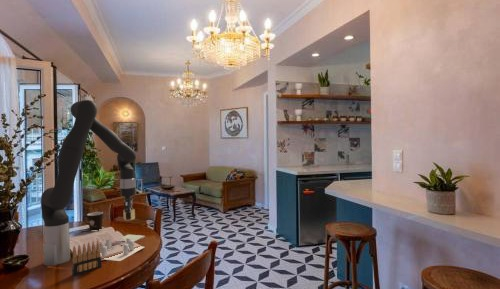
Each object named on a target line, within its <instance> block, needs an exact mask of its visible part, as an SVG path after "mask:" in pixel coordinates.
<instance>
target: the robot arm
mask: <svg viewBox="0 0 500 289" xmlns="http://www.w3.org/2000/svg"><path fill="white" fill-rule="evenodd" d="M70 113H71V116H73V118H74V119H75V120H74V123H73V126H72V127H71V129H70V131H68V133H67V135H66V137H65V138H64V140H63V142H62V143H61V147H60V149H59V153H58V156H57V177H56V181H55V184H54V185H53V187H49V188H46V189H44V191H43V193H42V194H41V198H40V205H41V206H40V207H41V218H42V220H43V224H44V243H43V244H42V250H43V252H42V254H43V265H44V266H49V267H50V266H52V267H56V266H58V265H61V264H64V263H67V262H69V261H70V260H71V245H70V220H69V215H68V213H67V212H66V207H67V206H68V205H69V204H70V202H71V199H72V194H73V191H74V190H73V189H74V184H75V182H76V181H75V180H76V176H77V174H78V170H79V166H80V164H81V160H82V158H83V155H84V151H85V147H86V144H87V140H88V137H89V133H90V132H93V133H94V135H95V136H96V137H98V138H99V140H101V141H102V142H103V143H104V144H105V145H106V147H108V149H109V150H111V152H114V153H117V155H116V161H117V165H118V168H119V172H120V173H119V176H120V179H119V180H120V181H119V186H120V197H122V198H123V197H125V198H124V199H123V207H124V209H123V210H125V211H124V212H125V213H126V220H125V221H131V220H130V219H131V215H130V212H131V209H134V206H133V205H134V203H133V200H134V198H133V196H135V195H136V179H135V168H134V167H132V165H131V163H134V162H135V161H136V159H137V155H136V153H135V150H133V149H132V147H130V146H128V144H126V143H124V141H122V139H121V138H120V137H119V136H118V134H116V133H115V132H114V131H113V130H112V129H110V128H109V127H108V126H106V125H105V124H103V123H102V122H100V120H98V119H97V114H98V107H97V105H96V102H94V101H92V100H89V99H83V100H79V101H76V102H74V103H73V104H72V105H71V106H70ZM127 209H129V210H127Z"/></svg>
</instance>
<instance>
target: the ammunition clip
mask: <svg viewBox="0 0 500 289" xmlns="http://www.w3.org/2000/svg"><path fill="white" fill-rule="evenodd" d="M91 255H92V256H91ZM71 259H72V264H71V265H72V267H71V268H72V269H71V270H72V272H71V275H72V277H76V276H77V277H78V276H80V275H83V274H86V273H91V272H92V271H94V270H96V269H100V268H102V266H103V265H102V259H101V255H100V241H99V240H97V241H96V244H95V241H92V244H90V242H88V243H87V246H86V244H85V243H83V244H82V247H81V245H80V244H78V247H77V248H76V246H75V245H73V247H72V258H71Z"/></svg>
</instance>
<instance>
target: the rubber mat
mask: <svg viewBox="0 0 500 289" xmlns="http://www.w3.org/2000/svg"><path fill="white" fill-rule="evenodd" d="M121 238H123V239H124V240H125V241H126V239H127V238H131V240H134V243H135V242H137V241H138V240H141V239H144V238H146V235H141V234H137V235H136V234H126V235H124V236H122V237H121Z"/></svg>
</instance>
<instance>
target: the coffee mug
mask: <svg viewBox="0 0 500 289" xmlns="http://www.w3.org/2000/svg"><path fill="white" fill-rule="evenodd" d="M85 217H86V218H87V221H88V222H87V221H85ZM82 220H83V222H84V224H87V225H88V227H89V228H88V229H89V231H90V230H99V229H103V220H104V212H103V211H95V212H91V213H90V212H89V213H87V214H86V215H84V216H83V218H82Z"/></svg>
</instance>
